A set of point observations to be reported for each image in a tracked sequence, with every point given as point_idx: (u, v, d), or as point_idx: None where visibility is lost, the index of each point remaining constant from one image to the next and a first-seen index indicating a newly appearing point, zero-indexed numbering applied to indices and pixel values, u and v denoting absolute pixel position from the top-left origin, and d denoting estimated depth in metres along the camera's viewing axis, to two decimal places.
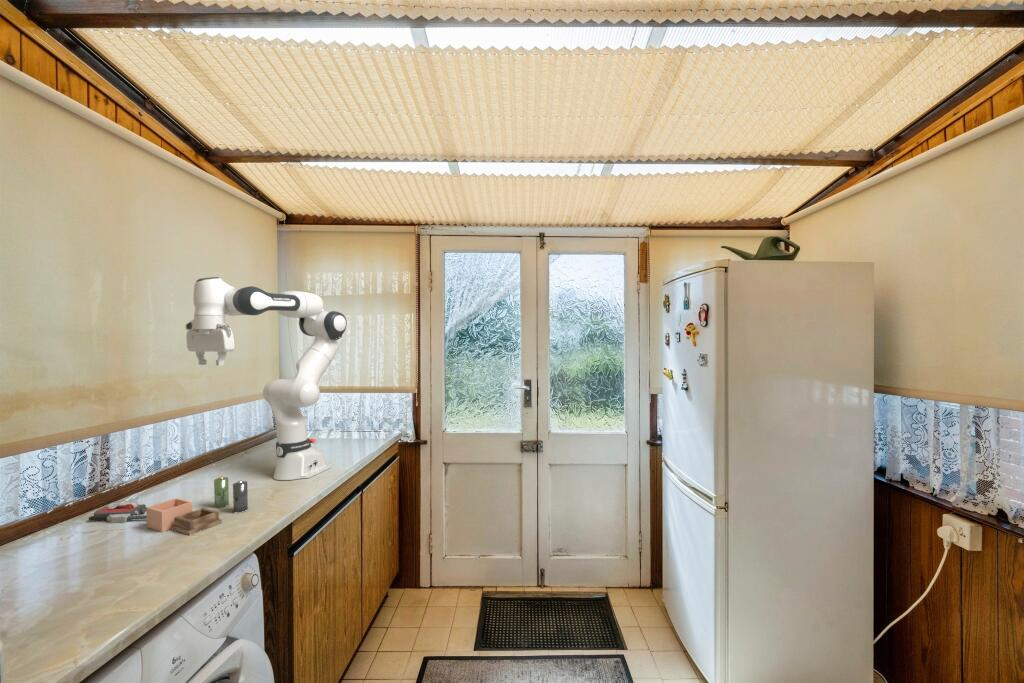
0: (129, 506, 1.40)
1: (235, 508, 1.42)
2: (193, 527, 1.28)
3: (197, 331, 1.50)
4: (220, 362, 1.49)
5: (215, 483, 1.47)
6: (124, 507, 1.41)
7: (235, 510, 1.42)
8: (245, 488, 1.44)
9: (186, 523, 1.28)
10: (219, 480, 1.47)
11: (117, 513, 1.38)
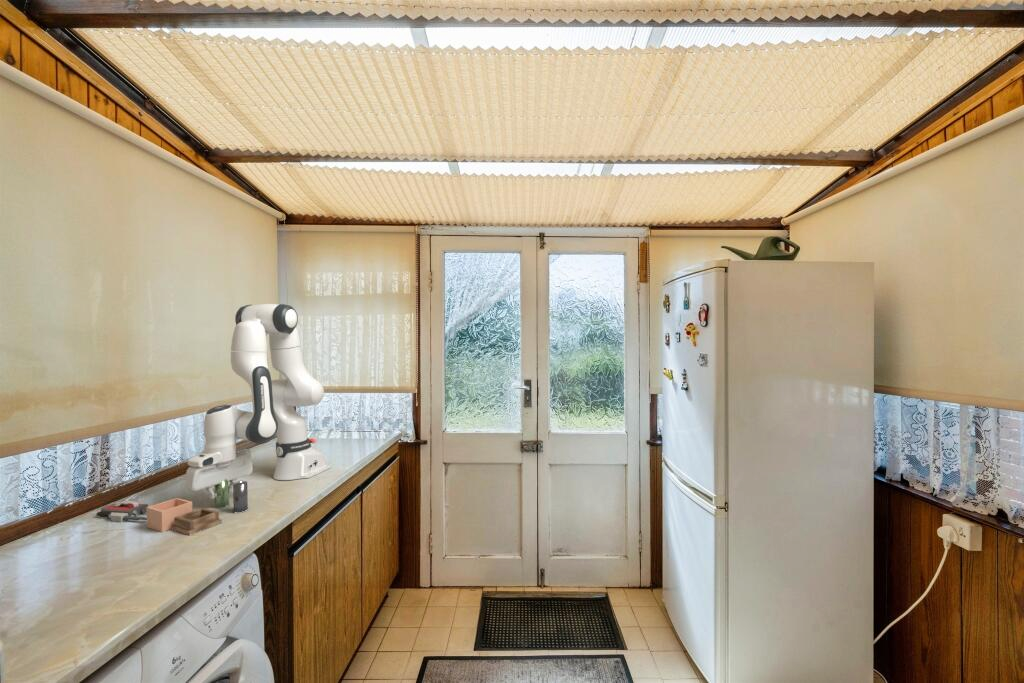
0: (130, 505, 1.41)
1: (235, 508, 1.42)
2: (193, 527, 1.28)
3: (214, 464, 1.44)
4: None
5: None
6: (127, 505, 1.42)
7: (235, 510, 1.42)
8: (245, 488, 1.44)
9: (186, 523, 1.28)
10: None
11: (118, 511, 1.39)
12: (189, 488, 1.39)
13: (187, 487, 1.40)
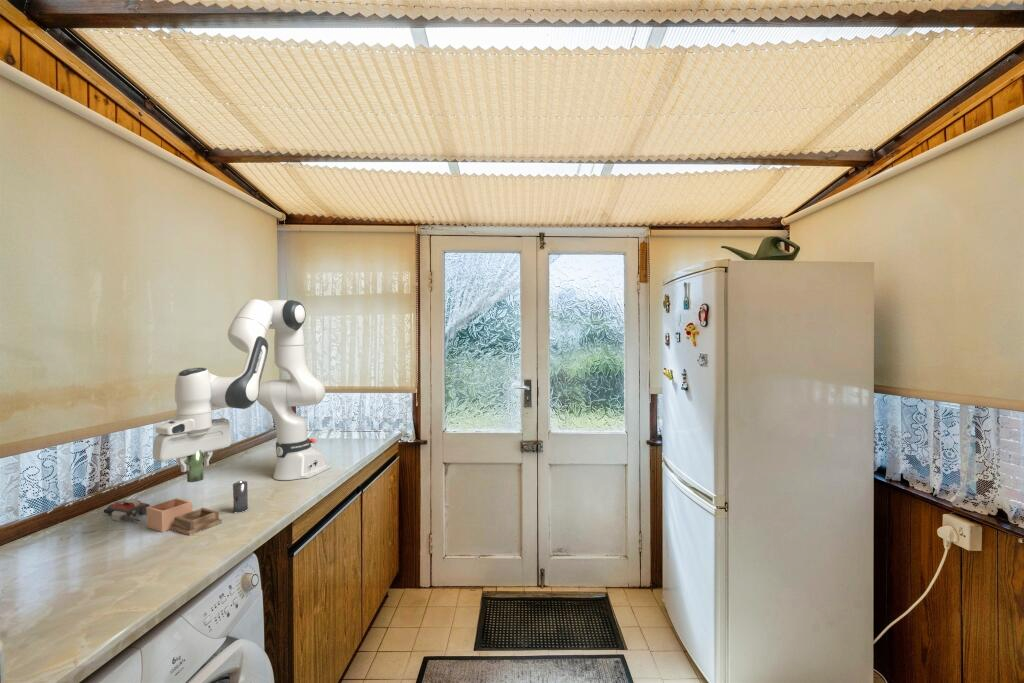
0: (131, 505, 1.41)
1: (235, 508, 1.42)
2: (193, 527, 1.28)
3: (187, 433, 1.28)
4: None
5: None
6: None
7: (235, 510, 1.42)
8: (245, 488, 1.44)
9: (186, 523, 1.28)
10: None
11: (119, 510, 1.40)
12: (156, 458, 1.23)
13: (154, 457, 1.23)
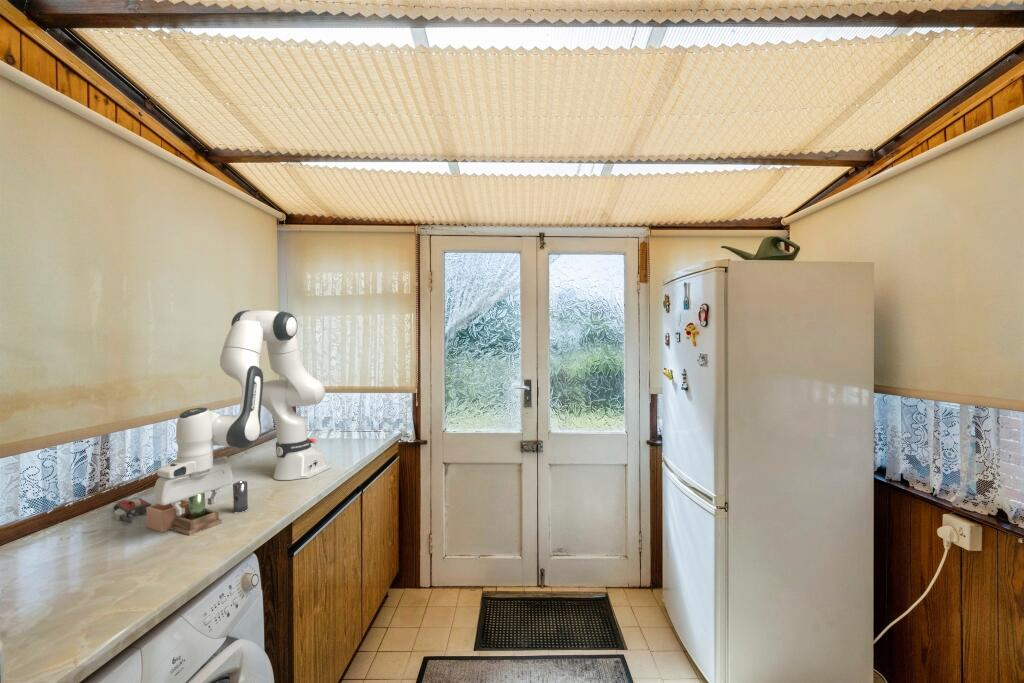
0: (132, 504, 1.42)
1: (235, 508, 1.42)
2: (193, 527, 1.28)
3: (188, 475, 1.29)
4: None
5: (189, 498, 1.31)
6: None
7: (235, 510, 1.42)
8: (245, 488, 1.44)
9: (186, 523, 1.28)
10: None
11: (122, 508, 1.41)
12: (158, 502, 1.23)
13: (156, 501, 1.24)
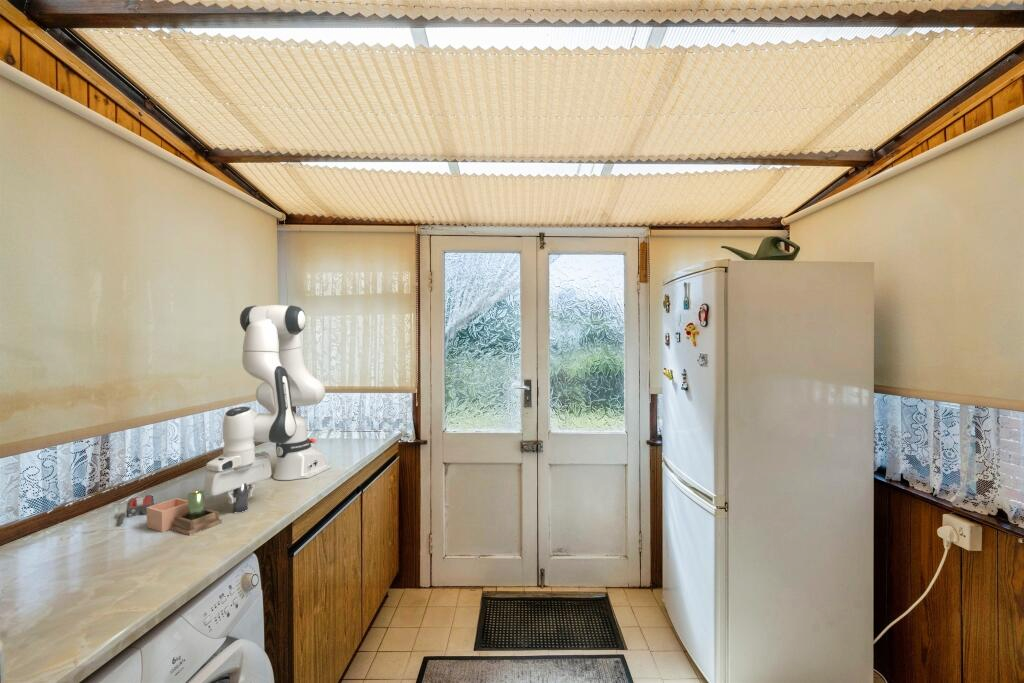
0: (135, 503, 1.43)
1: (235, 508, 1.42)
2: (193, 527, 1.28)
3: (234, 468, 1.40)
4: None
5: (189, 498, 1.31)
6: None
7: (235, 510, 1.42)
8: (245, 488, 1.44)
9: (186, 523, 1.28)
10: (193, 494, 1.31)
11: (127, 506, 1.43)
12: (208, 493, 1.35)
13: (206, 492, 1.35)
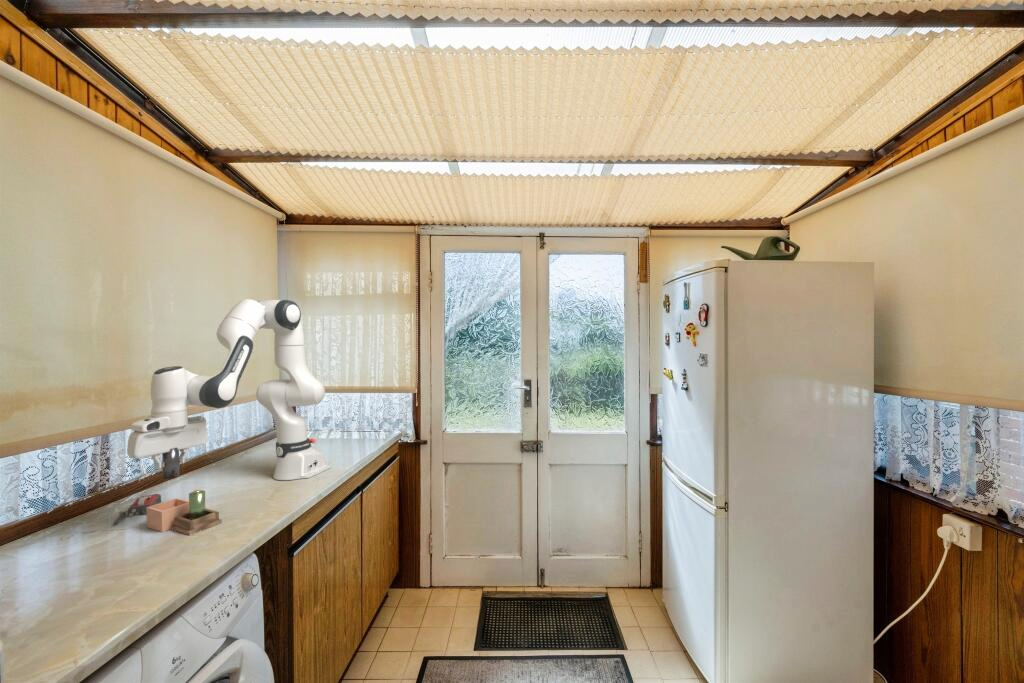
0: None
1: (164, 474, 1.32)
2: (193, 527, 1.28)
3: (162, 430, 1.30)
4: None
5: (190, 497, 1.31)
6: None
7: (164, 476, 1.32)
8: (175, 452, 1.34)
9: (186, 523, 1.28)
10: (194, 494, 1.31)
11: (131, 505, 1.44)
12: (131, 455, 1.25)
13: (129, 454, 1.25)
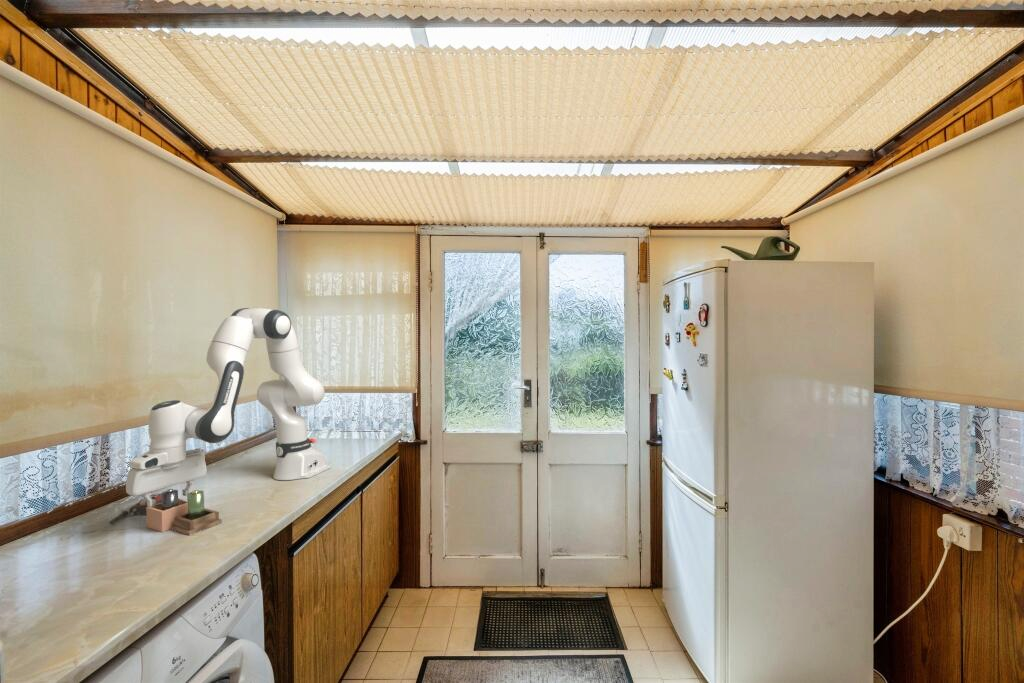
0: None
1: None
2: (193, 527, 1.28)
3: (160, 466, 1.30)
4: None
5: (188, 498, 1.31)
6: None
7: None
8: (174, 497, 1.34)
9: (186, 523, 1.28)
10: (192, 494, 1.31)
11: None
12: (129, 492, 1.25)
13: (127, 491, 1.25)
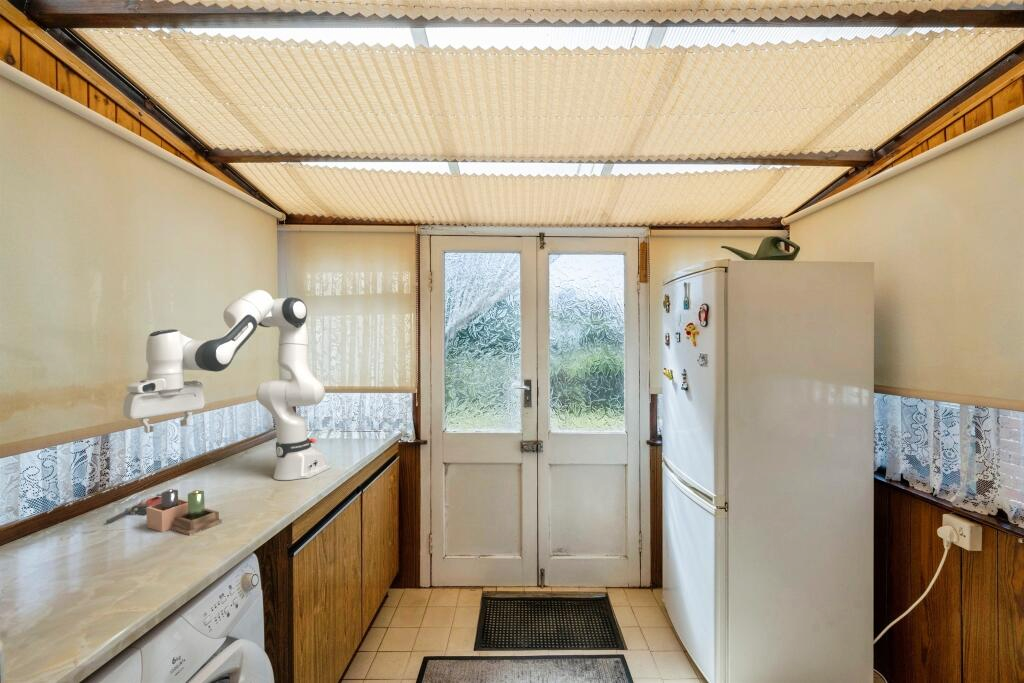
0: None
1: None
2: (193, 527, 1.28)
3: (158, 392, 1.30)
4: None
5: (188, 498, 1.31)
6: None
7: None
8: (174, 497, 1.34)
9: (186, 523, 1.28)
10: (192, 495, 1.31)
11: None
12: (127, 415, 1.24)
13: (125, 415, 1.25)
